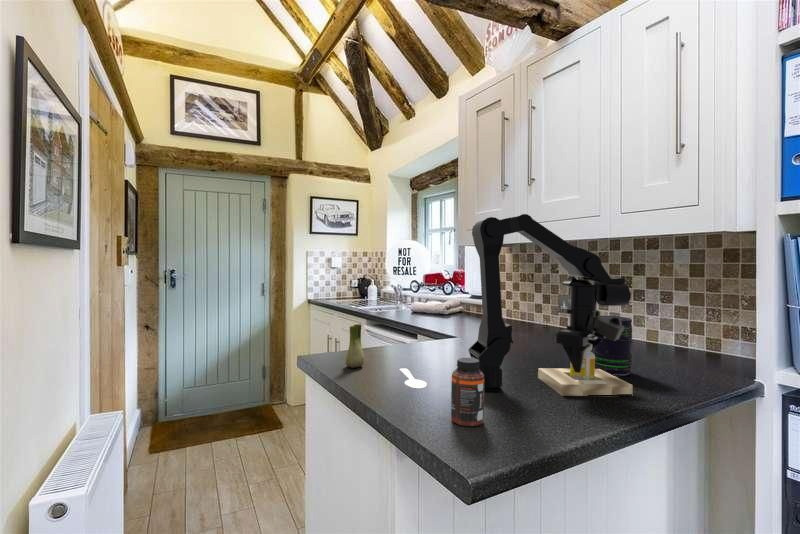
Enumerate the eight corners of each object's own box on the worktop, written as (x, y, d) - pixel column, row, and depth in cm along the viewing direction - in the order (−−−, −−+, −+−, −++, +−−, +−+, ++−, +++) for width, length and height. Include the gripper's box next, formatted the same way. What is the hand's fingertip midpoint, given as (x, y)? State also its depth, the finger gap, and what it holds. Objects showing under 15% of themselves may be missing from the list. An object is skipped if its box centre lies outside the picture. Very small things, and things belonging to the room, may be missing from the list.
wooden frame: (561, 395, 88) (561, 383, 88) (538, 377, 102) (538, 367, 102) (632, 396, 88) (632, 384, 88) (599, 378, 102) (599, 368, 102)
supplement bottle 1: (490, 426, 70) (491, 362, 70) (459, 429, 68) (460, 364, 68) (474, 414, 76) (475, 355, 76) (445, 416, 74) (446, 356, 74)
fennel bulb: (358, 363, 113) (359, 322, 113) (368, 367, 110) (369, 324, 110) (341, 367, 109) (342, 323, 109) (351, 370, 106) (352, 326, 106)
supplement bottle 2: (575, 386, 92) (576, 345, 92) (566, 379, 97) (567, 340, 97) (598, 386, 92) (599, 345, 92) (588, 380, 97) (588, 341, 97)
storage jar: (588, 372, 108) (589, 317, 108) (594, 365, 116) (594, 314, 116) (630, 378, 102) (631, 321, 102) (633, 370, 110) (634, 317, 110)
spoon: (412, 369, 109) (412, 367, 109) (431, 389, 92) (431, 387, 92) (393, 370, 108) (393, 368, 108) (408, 390, 90) (408, 388, 90)
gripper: (607, 311, 82) (605, 385, 82) (631, 306, 96) (629, 370, 96) (554, 306, 90) (553, 374, 90) (583, 302, 104) (582, 361, 104)
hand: (581, 370), depth 95 cm, fingers closed on supplement bottle 2, 5 cm apart
